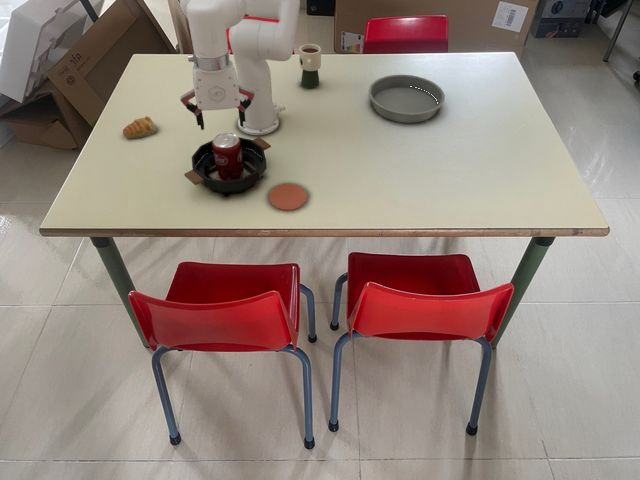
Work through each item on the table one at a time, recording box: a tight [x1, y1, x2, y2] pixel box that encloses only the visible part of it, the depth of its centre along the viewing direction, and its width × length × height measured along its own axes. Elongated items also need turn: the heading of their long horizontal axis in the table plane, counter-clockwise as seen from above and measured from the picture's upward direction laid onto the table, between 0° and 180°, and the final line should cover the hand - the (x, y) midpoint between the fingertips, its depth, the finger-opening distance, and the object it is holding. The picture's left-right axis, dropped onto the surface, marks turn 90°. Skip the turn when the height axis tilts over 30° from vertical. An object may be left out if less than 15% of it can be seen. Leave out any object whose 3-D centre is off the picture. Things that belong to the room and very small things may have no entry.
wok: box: [183, 136, 272, 198], centre depth 128 cm, size 24×19×6 cm
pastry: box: [122, 115, 157, 139], centre depth 142 cm, size 9×7×4 cm
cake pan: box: [368, 74, 446, 124], centre depth 155 cm, size 25×25×4 cm
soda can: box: [211, 132, 246, 181], centre depth 126 cm, size 7×7×12 cm
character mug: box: [298, 43, 322, 89], centre depth 159 cm, size 11×7×13 cm, turn 176°
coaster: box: [268, 183, 308, 212], centre depth 125 cm, size 10×10×1 cm
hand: (222, 125), depth 118 cm, fingers open, 9 cm apart
